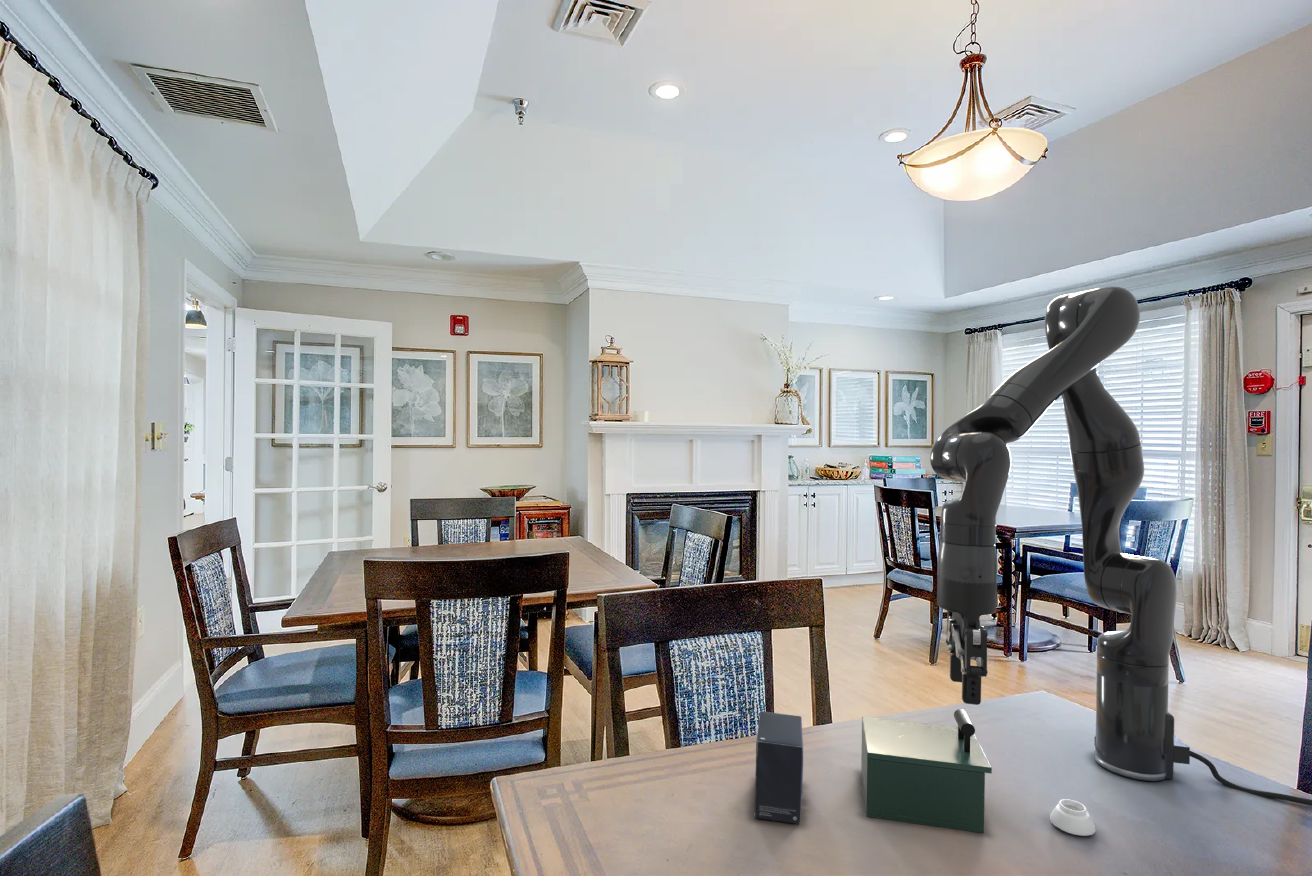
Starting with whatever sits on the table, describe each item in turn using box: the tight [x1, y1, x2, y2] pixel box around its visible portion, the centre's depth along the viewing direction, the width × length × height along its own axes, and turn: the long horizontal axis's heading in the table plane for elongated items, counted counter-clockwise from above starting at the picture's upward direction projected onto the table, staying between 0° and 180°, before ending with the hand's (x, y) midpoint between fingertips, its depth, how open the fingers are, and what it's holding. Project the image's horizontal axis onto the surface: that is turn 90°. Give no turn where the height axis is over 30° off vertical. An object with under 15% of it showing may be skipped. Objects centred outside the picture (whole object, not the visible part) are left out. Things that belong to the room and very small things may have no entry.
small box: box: [753, 710, 804, 825], centre depth 94 cm, size 11×6×10 cm, turn 168°
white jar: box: [1049, 798, 1096, 837], centre depth 88 cm, size 5×3×5 cm
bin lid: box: [861, 708, 993, 774], centre depth 94 cm, size 15×12×5 cm
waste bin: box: [860, 724, 986, 834], centre depth 94 cm, size 15×12×8 cm
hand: (964, 691), depth 93 cm, fingers open, 8 cm apart
